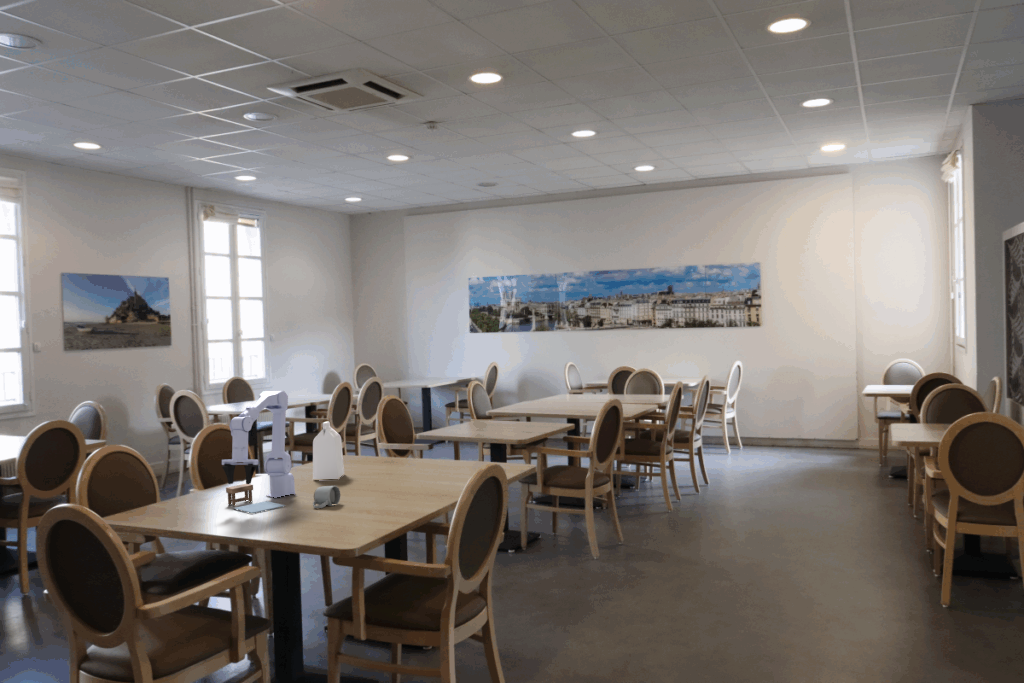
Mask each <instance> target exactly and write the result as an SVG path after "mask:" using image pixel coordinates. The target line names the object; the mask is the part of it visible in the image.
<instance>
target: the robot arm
mask: <svg viewBox="0 0 1024 683" xmlns="http://www.w3.org/2000/svg"><path fill="white" fill-rule="evenodd" d="M258 396H259V397H258V399H257V401H256V402H255V403H254V404H253V405H252V406H246V407H245V409H244V410H243V411H242V412H241V413H239V415H238V416H234V417H232V419H231V420H230V422H229V426H228V427H229V430H230V435H231V437H232V442H231V444H232V449H231V450H232V452H231V459H221V465H222V470H223V472H224V473H225V477H226V479H227V483H228V485H232V484H234V477H235V474H234V473H235V469H236V466H238V465H240V466H241V465H244V472H245V484H251V485H252V480H253V476H254V475H255V471H256V470H257V468H258V466H259V459H251V458H248V457H249V431H251V430H252V426H253V425H254V422H256V420H257V419H258V418H259V417H260V413H261V412H262V411H263V410H265V409H266V410H267V411H269V412H271V414H272V428H271V429H272V431H271V434H272V435H271V451H270V452H269V453H268V454H267V455H266V456H265V457H266V458H265V461H264V472H265V473H266V474H267V476H269V490H270V491H269V492H270V493H269V494H266V497H268V496H270V497H269V498H273V497H274V499H278V498H277V497H280V498H282V497H281V496H284V497H286V496H285V495H289V496H291V495H290V494H294V495H296V494H295V493H296V490H295V485H296V484H295V476H294V475H293V473H291V471H292V468H293V467H292V466H293V465H292V460H291V459H292V458H291V455H290V454H289V453H288V452H287V451H286V450H285V444H286V420H287V419H286V418H287V417H286V413H287V410H288V403H289V396H288V395H287V393H286V392H285V391H284V390H272V391H270V390H269V391H268V390H267V391H266V390H263V391H262V392H261V393H259V395H258Z"/></svg>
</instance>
